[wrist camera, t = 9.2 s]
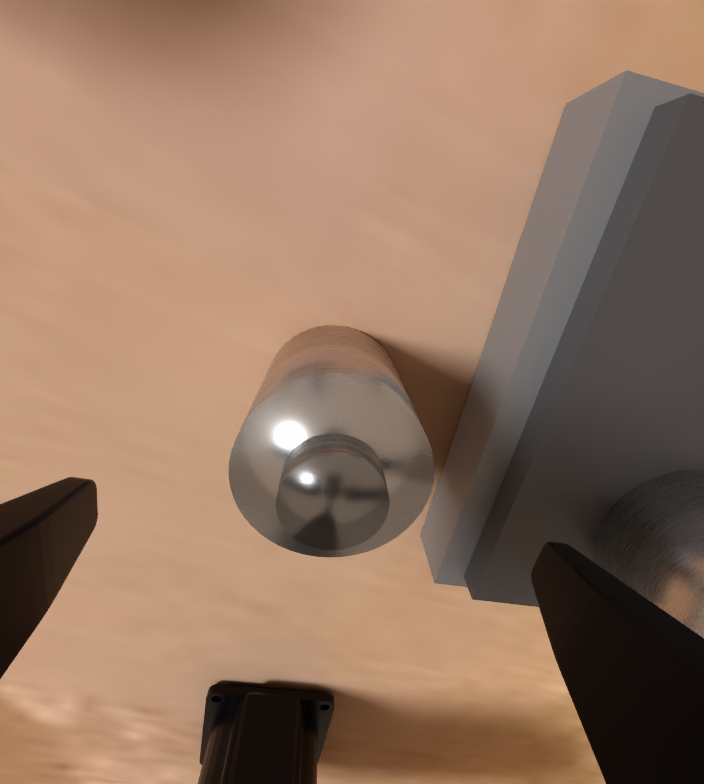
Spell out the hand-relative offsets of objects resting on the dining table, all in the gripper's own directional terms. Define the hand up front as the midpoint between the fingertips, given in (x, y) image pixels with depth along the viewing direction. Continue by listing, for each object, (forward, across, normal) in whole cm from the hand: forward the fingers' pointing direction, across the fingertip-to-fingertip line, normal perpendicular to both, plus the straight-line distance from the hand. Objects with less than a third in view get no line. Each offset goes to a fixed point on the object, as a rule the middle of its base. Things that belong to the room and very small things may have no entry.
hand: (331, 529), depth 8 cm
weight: (+7, 0, 0) cm, 7 cm away
